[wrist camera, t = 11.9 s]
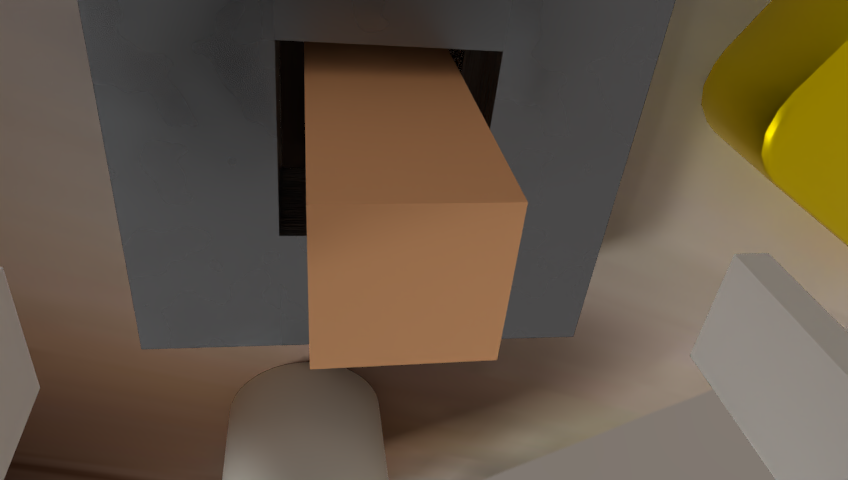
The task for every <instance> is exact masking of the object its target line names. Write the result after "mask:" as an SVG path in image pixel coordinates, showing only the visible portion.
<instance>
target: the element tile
mask: <svg viewBox="0 0 848 480" xmlns="http://www.w3.org/2000/svg"><path fill="white" fill-rule="evenodd" d="M701 105H702V108H703V111H704V114H705V117H706V120H707V122H708V124H709V125H710V126H711V128H712V129H713V130H714V132H715V133H716V134H718V135H719V136H720V137H721V138H722V139H723V140H724V141H725V142H727V143H728V144H729V145H730V146H731V147H732V148H733V149H735V150H736V151H737V152H738V153H739V154H740V155H741V156H742V157H744V158H745V159H746V160H747V161H748V162H749V163H750V164H752V165H753V166H754V167H755V168H756V169H757V170H758V171H759V172H761V173H762V174H763V175H764V176H765V177H766V178H767V179H769V180H770V181H771V182H772V183H773V184H774V185H776V186H777V187H778V188H779V189H780V190H782V191H783V192H784V193H785V194H786V195H787V196H789V197H790V198H791V199H792V200H793V201H795V202H796V203H797V204H798V205H799V206H801V207H802V208H803V209H804V210H805V211H807V212H808V213H809V214H810V215H811V216H812V217H814V218H815V219H816V220H817V221H818V222H820V223H821V224H822V225H823V226H824V227H826V228H827V229H828V230H829V231H830V232H832V233H833V234H834V235H835V236H836V237H837V238H839V239H840V240H841V241H842V242H843V243H845V244H846V245H847V246H848V0H772V1H771V2H770V3H769V4H768V5H767V6H766V7H765V8H764V9H763V10H762V11H761V12H760V14H759V15H758V16H757V17H756V18H755V19H754V20H753V21H752V22H751V23H750V24H749V25H748V26H747V27H746V28H745V29H744V30H743V31H742V32H741V33H740V34H739V36H738V37H737V38H736V39H735V40H734V41H733V42H732V43H731V44H730V45H729V46H728V47H727V48H726V49H725V51H724V52H723V53H722V55H721V56H720V57H719V59H718V60H717V61H716V63H715V64H714V66H713V68H712V70H711V72H710V74H709V76H708V78H707V80H706V82H705V84H704V86H703V95H702V103H701Z"/></svg>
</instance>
